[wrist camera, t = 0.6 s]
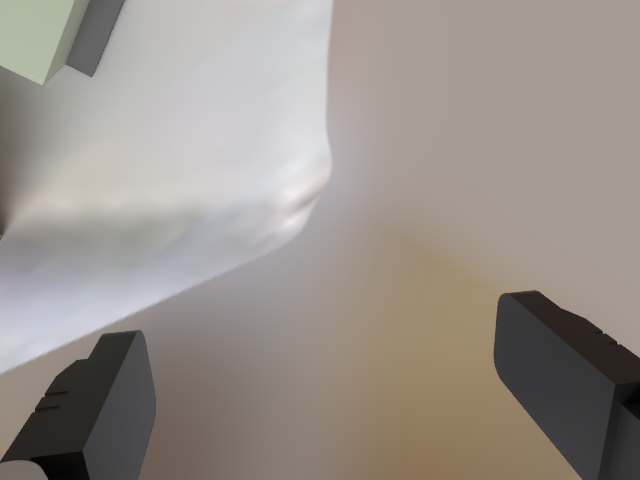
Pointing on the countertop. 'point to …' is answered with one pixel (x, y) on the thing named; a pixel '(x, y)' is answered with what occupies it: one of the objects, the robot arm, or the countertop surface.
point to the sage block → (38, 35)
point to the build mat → (93, 35)
